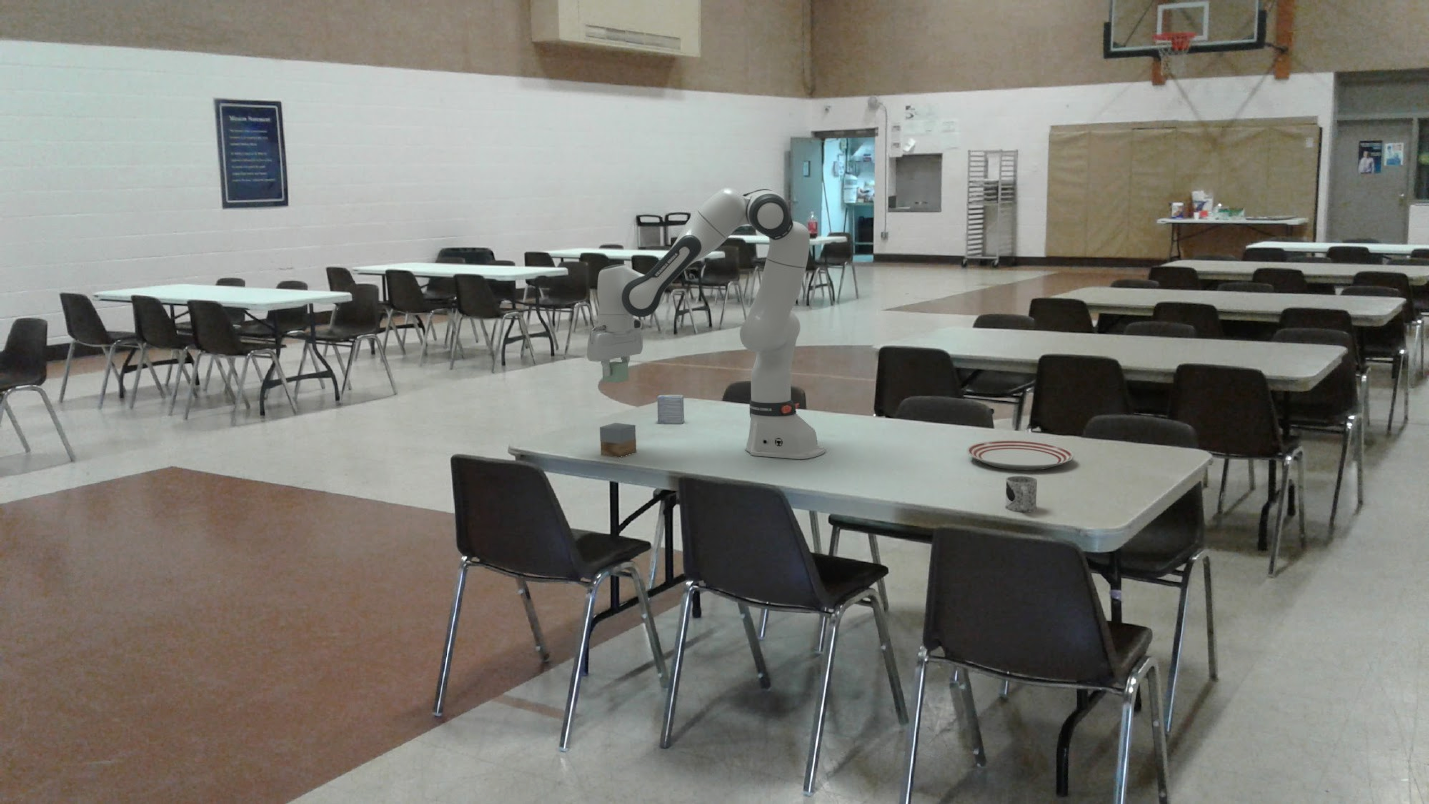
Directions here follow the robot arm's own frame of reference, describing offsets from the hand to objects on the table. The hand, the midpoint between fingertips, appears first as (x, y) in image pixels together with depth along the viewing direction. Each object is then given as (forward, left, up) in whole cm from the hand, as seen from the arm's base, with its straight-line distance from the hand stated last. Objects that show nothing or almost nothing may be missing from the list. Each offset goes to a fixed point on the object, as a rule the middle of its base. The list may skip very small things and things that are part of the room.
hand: (615, 374), depth 319 cm
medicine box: (+14, -44, -23) cm, 51 cm away
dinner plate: (-98, -47, -23) cm, 111 cm away
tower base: (0, 0, -23) cm, 23 cm away
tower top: (0, 0, -19) cm, 19 cm away
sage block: (0, 0, -2) cm, 2 cm away
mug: (-115, -1, -23) cm, 117 cm away
